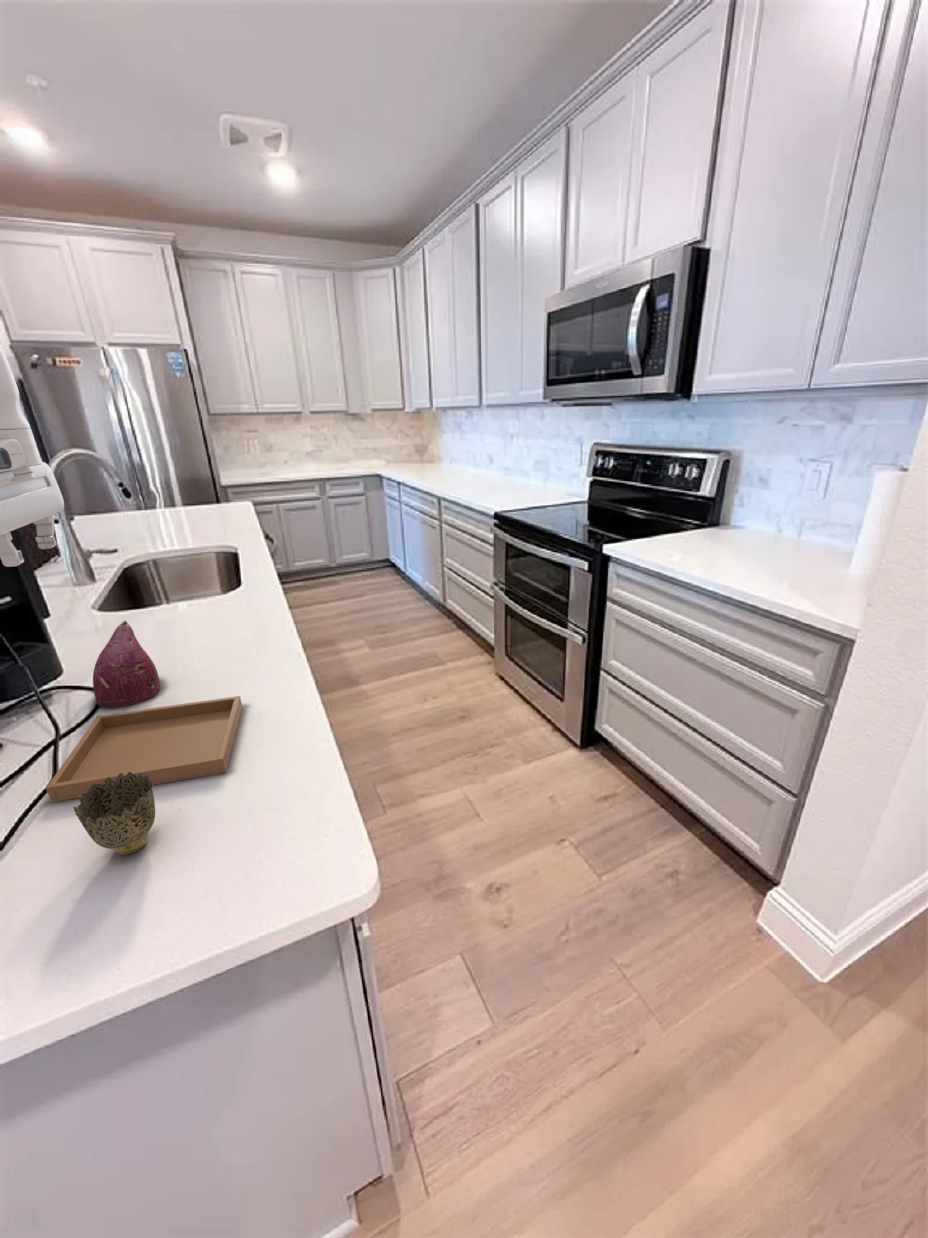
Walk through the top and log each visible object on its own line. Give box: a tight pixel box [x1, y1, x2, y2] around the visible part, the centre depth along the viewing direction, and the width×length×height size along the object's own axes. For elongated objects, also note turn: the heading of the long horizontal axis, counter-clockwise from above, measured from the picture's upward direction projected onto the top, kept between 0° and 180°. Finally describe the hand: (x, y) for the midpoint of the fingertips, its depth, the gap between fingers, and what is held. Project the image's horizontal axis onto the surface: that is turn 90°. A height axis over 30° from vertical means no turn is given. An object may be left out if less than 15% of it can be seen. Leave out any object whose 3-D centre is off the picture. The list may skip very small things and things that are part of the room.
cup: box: [73, 772, 156, 856], centre depth 59 cm, size 8×7×8 cm
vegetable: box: [92, 620, 161, 708], centre depth 92 cm, size 10×10×15 cm
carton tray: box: [45, 695, 243, 803], centre depth 77 cm, size 22×18×2 cm
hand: (32, 555), depth 72 cm, fingers open, 8 cm apart
